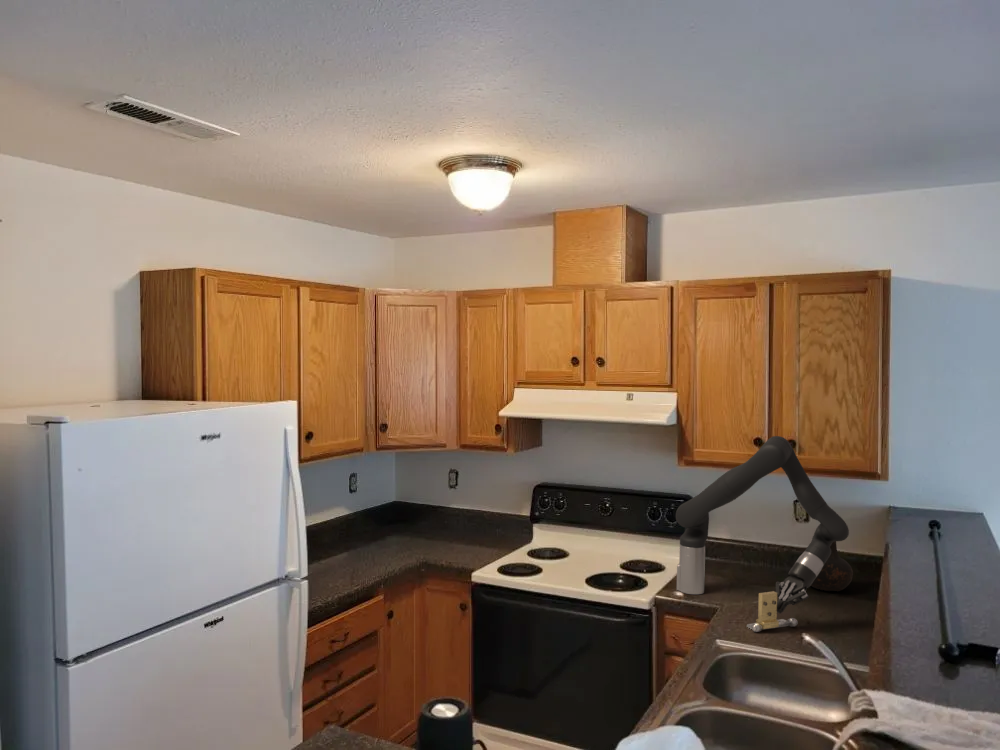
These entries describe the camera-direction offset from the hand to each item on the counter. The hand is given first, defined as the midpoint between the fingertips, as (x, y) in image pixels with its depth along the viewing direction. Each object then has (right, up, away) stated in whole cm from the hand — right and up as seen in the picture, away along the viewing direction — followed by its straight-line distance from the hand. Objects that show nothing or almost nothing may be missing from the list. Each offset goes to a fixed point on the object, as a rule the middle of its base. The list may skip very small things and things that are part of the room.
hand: (776, 611), depth 240 cm
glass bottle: (+36, -6, +45) cm, 58 cm away
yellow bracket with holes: (-4, -4, -1) cm, 6 cm away
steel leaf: (-1, -6, +1) cm, 6 cm away
